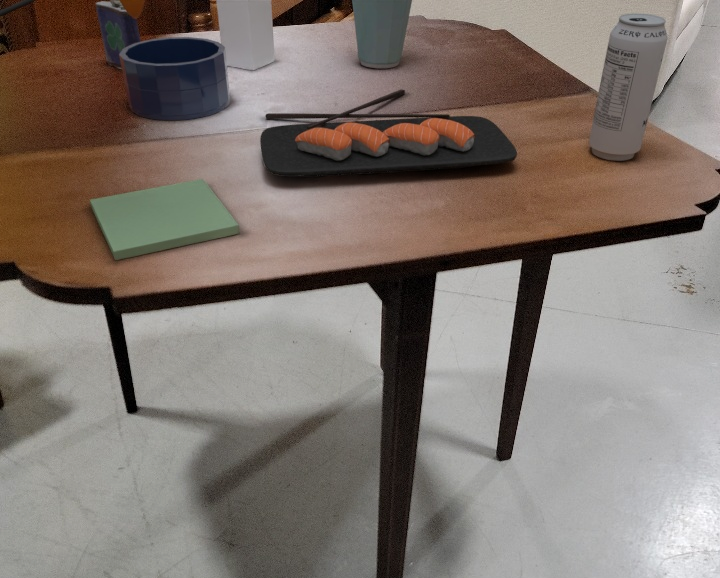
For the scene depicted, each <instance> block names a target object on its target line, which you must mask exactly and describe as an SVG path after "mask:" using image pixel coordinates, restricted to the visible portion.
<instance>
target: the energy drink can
mask: <svg viewBox="0 0 720 578" xmlns="http://www.w3.org/2000/svg"><path fill="white" fill-rule="evenodd" d="M666 22H667V20H666V18H664V17H662V16H659V15H656V14H649V13H634V12H633V13H624V14H621V15H619V16H618V21H617V23H616V24H615V26H614V27H613V28H612V30H611V31H610V32H609V38H608V42H607V46H606V47H607V48H606V53H605V58H604V62H603V68H602V72H601V78H600V82H599V88H598V93H597V97H596V98H597V99H596V102H595V108H594V112H593V118H592V122H591V123H592V124H591V128H590V133H589V138H588V145H589V146H590V147H591V153H592V154H593V155H594V156H596V157H598V158H600V159H603V160H608V161H615V162H619V161H621V162H622V161H628V160H631V159H633V158H634V156H635V154H637V153H638V152H639V151H641V149H642V145H643V140H644V136H645V131H646V129H647V124H648V120H649V117H650V112H651V108H652V104H653V100H654V96H655V92H656V87H657V83H658V79H659V75H660V71H661V67H662V63H663V59H664V56H665V51H666V47H667V42H668V39H669V37H668V34H667V30H666V26H665V25H666Z"/></svg>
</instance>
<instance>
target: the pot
mask: <svg viewBox="0 0 720 578" xmlns="http://www.w3.org/2000/svg"><path fill="white" fill-rule="evenodd" d="M119 57H120V62H121V67H122V69H121V73H122V77H123V82H124V87H125V93H126V99H127V103H128V105H129V109H130V111H131V112H132V113H134V114H135V115H137V116H139V117H142V118H146V119H150V120H151V119H152V120H155V121H157V120H158V121H185V120H195V119H199V118H204V117H208V116H211V115H215V114H217V113H220V112H221V111H223V110H225V109H226V108H227V107H228V106H229V105H230V102H231V98H230V96H231V91H230V82H229V72H228V71H229V70H228V66H227V61H226V51H225V47H224V46H223V45H222V44H221V42H219V41H216V40H212V39H208V38H202V37H191V36H170V37H169V36H168V37H161V38H151V39H147V40H141V42H138V43H134V44H132V45H130V46H128V47H125V48H123V49H122V51H121V52H120V54H119Z"/></svg>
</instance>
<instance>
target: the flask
mask: <svg viewBox="0 0 720 578" xmlns="http://www.w3.org/2000/svg"><path fill="white" fill-rule="evenodd" d="M94 5H95V9H96V13H97V19H98V23H99V27H100V28H99V29H100V34H101V38H102V44H103V49H104V55H105V60H106V63H107V64H108V65H109V66H113V67H116V69H119V70H122V67H121V62H120V57H119V54H120V52H121V51H122V49H123V48H125V47H128V46H130V45H132V44H134V43H138V42H142V40H141V37H140V31H139V30H140V29H139V26H138V20H137V19H138V18H137V19H134V18H133V17H131V16H130V15H129V14H128V13H127V11H126V10H125V8H124V7H123V5H122V4H121V2H120V1H119V0H109V1H105V0H101V1H98V2H95V4H94Z"/></svg>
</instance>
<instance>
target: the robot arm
mask: <svg viewBox="0 0 720 578" xmlns="http://www.w3.org/2000/svg"><path fill="white" fill-rule="evenodd" d="M36 1H37V0H21V1H19V2H17V3H14V4H13V5H10V6H8V7H5V8H2V9H1V10H0V18H2V17H3V16H5V15H7V14H10V13H12V12H14V11H16V10H19V9H20V8H23V7H26V6H27V5H29V4H32V3H34V2H36Z"/></svg>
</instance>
